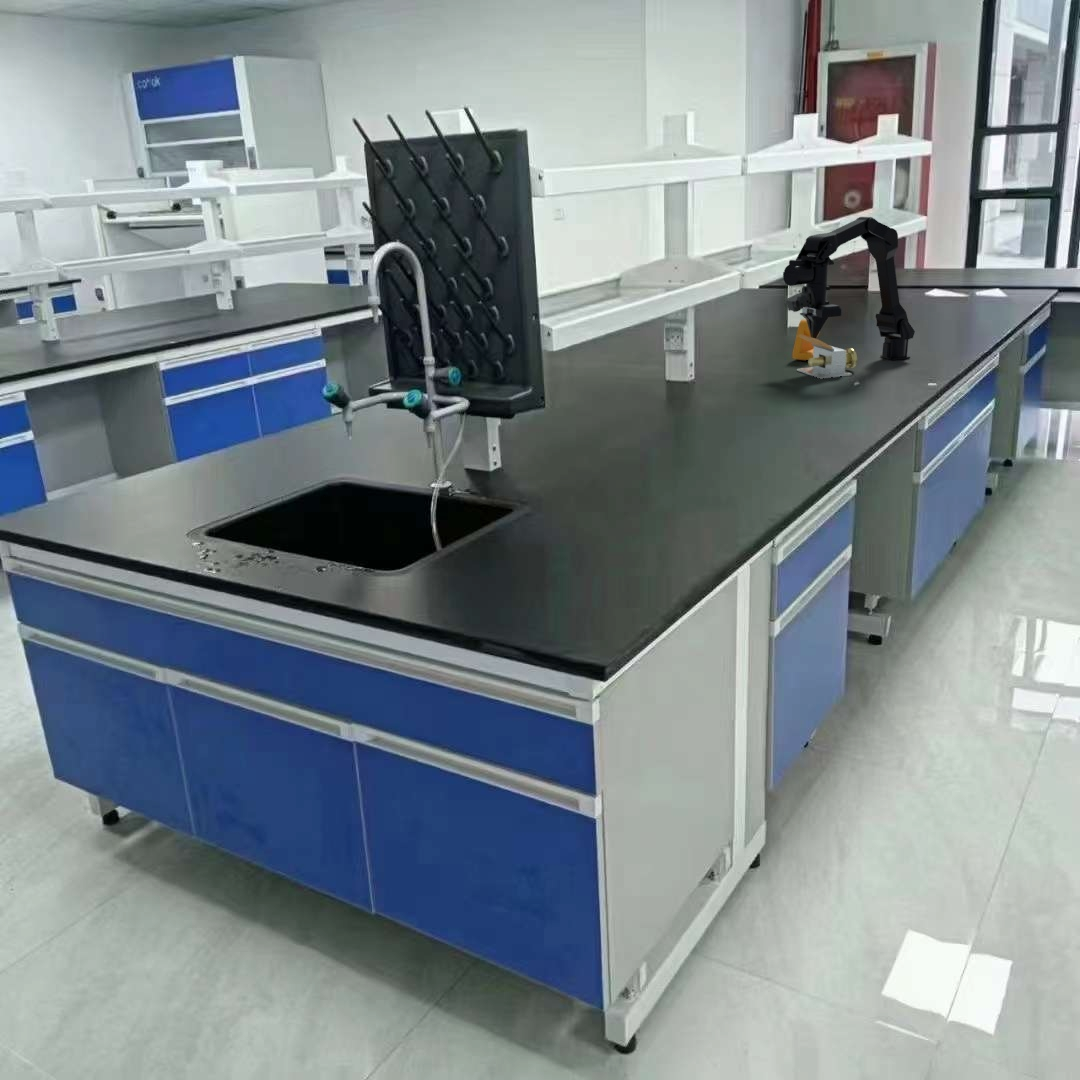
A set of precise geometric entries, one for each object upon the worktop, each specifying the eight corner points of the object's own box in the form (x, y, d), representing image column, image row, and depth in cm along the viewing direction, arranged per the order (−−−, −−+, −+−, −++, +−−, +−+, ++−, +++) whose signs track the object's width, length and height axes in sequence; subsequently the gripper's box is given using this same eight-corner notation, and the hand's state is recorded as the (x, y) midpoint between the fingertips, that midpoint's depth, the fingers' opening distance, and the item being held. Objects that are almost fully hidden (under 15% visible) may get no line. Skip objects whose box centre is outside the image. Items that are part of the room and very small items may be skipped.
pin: (845, 365, 304) (847, 346, 302) (856, 369, 299) (857, 349, 297) (804, 370, 301) (805, 351, 299) (815, 373, 296) (815, 354, 294)
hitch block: (827, 367, 307) (828, 343, 304) (851, 375, 295) (853, 350, 293) (796, 370, 304) (798, 346, 302) (820, 378, 293) (821, 354, 290)
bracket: (813, 363, 314) (815, 323, 310) (792, 361, 318) (794, 321, 314) (830, 357, 321) (832, 318, 317) (809, 355, 326) (811, 316, 322)
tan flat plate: (813, 346, 302) (815, 342, 302) (833, 352, 293) (835, 348, 292) (797, 337, 299) (798, 333, 299) (815, 342, 290) (817, 339, 290)
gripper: (774, 281, 296) (772, 336, 302) (808, 288, 279) (805, 346, 285) (809, 278, 299) (806, 333, 304) (844, 285, 282) (841, 342, 288)
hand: (813, 338), depth 295 cm, fingers closed, pressing on tan flat plate
